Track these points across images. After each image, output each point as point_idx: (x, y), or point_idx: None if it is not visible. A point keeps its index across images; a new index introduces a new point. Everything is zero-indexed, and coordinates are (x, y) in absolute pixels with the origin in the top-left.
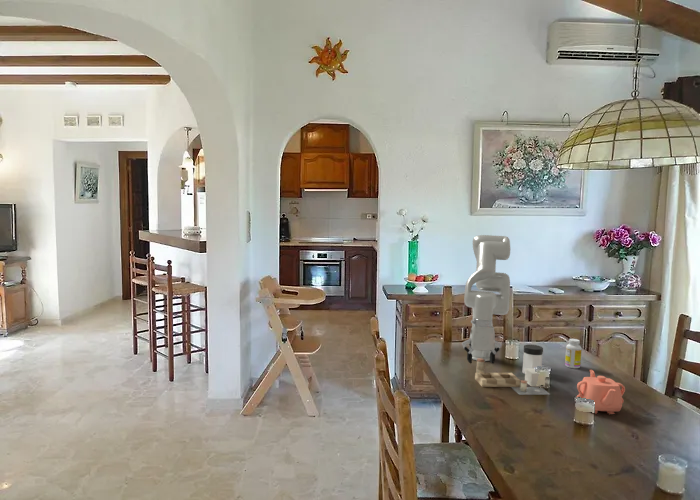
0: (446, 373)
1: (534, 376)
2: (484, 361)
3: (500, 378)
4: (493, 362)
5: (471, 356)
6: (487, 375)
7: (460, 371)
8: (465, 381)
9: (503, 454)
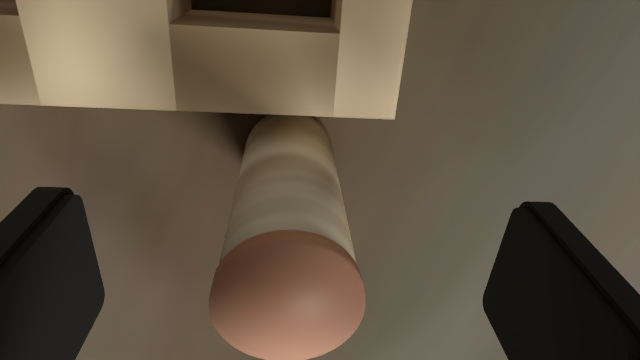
0: None
1: None
2: (224, 259)
3: None
4: (35, 191)
5: (618, 294)
6: (236, 24)
7: (415, 307)
8: (524, 31)
9: None
